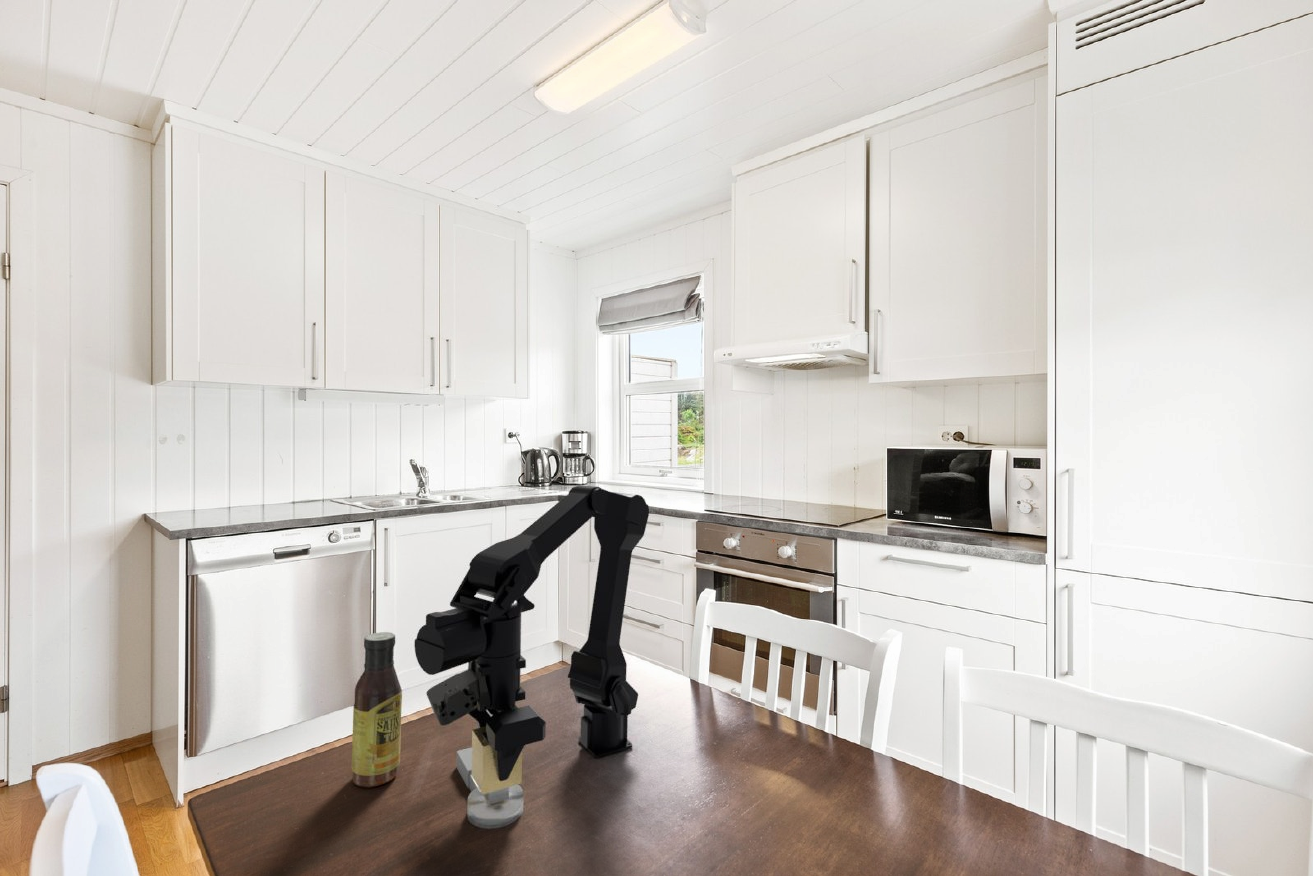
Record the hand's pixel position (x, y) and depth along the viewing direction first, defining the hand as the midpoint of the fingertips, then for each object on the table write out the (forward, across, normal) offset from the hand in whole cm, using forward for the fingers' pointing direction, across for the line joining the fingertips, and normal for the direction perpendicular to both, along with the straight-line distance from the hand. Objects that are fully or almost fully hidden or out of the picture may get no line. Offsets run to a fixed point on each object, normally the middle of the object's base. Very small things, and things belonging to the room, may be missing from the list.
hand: (496, 769), depth 81 cm
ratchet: (+5, -5, 0) cm, 7 cm away
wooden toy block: (+1, 0, 0) cm, 1 cm away
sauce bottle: (+6, -16, -12) cm, 21 cm away
